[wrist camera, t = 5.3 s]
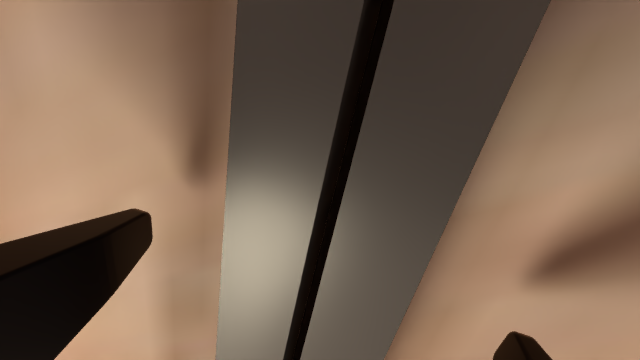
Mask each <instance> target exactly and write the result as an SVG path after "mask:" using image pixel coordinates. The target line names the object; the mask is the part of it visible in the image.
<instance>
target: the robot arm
mask: <svg viewBox="0 0 640 360" xmlns="http://www.w3.org/2000/svg"><path fill="white" fill-rule="evenodd" d="M152 237H153V236H152V223H151V216H150V214H149V213H148V212H145V211H142V210H139V209H129V210H125V211H121V212H118V213H114V214H110V215H106V216H103V217H99V218H95V219H92V220H88V221H84V222H80V223H77V224H73V225H69V226H65V227H62V228H58V229H54V230H50V231H47V232H43V233H39V234H35V235H32V236H28V237H24V238H20V239H17V240H13V241H9V242H5V243H2V244H0V360H54V359H55V358H56V357H57V356H58V355H59V354H60V352H61V351H62V350H63V349H64V348H65V347H66V346H67V345H68V344H69V343H70V341H71V340H72V339H73V338H74V337H75V336H76V335H77V334H78V333H79V332H80V331H81V329H82V328H83V327H84V326H85V325H86V324H87V323H88V322H89V321H90V320H91V319H92V317H93V316H94V315H95V314H96V313H97V312H98V311H99V310H100V309H101V308H102V307H103V305H104V304H105V303H106V302H107V301H108V300H109V299H110V297H111V296H112V295H113V294H114V293H115V291H116V290H117V289H118V288H119V286H120V285H121V284H122V282H123V281H124V280H125V278H126V277H127V276H128V274H129V273H130V272H131V270H132V269H133V268H134V266H135V265H136V264H137V263H138V261H139V260H140V259H141V257H142V256H143V255H144V253H145V252H146V251H147V249H148V248H149V246H150V245H151V242H152ZM493 360H552V359H551V358H550V356H549V355H548V354H547V353H546V352H545V351H544V350H543V348H542V347H541V346H540V345H539V344H538V343H537V342H536V341H535V339H533V338H532V337H530V336H528V335H525V334H522V333H518V332H515V331H512V332H510V333H509V334H508V335H507V336H506V338H505V339H504V340H503V342H502V343H501V345H500V346H499V347H498V349H497V350H496V352H495V354H494V356H493Z"/></svg>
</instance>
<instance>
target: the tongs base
mask: <svg viewBox="0 0 640 360" xmlns="http://www.w3.org/2000/svg"><path fill="white" fill-rule="evenodd" d="M550 1H551V0H394V4H393V7H392V11H391V15H390V19H389V23H388V26H387V30H386V34H385V38H384V42H383V46H382V49H381V53H380V57H379V61H378V65H377V68H376V72H375V76H374V80H373V84H372V88H371V91H370V95H369V99H368V103H367V107H366V110H365V114H364V118H363V122H362V126H361V129H360V133H359V137H358V141H357V145H356V149H355V152H354V156H353V160H352V164H351V168H350V171H349V175H348V179H347V183H346V187H345V191H344V194H343V198H342V202H341V206H340V210H339V213H338V217H337V221H336V225H335V229H334V232H333V236H332V240H331V244H330V248H329V252H328V255H327V259H326V263H325V267H324V271H323V274H322V278H321V282H320V286H319V290H318V294H317V297H316V301H315V305H314V309H313V313H312V316H311V320H310V324H309V328H308V332H307V335H306V339H305V343H304V347H303V351H302V355H301V358H300V360H384V358H385V356H386V354H387V352H388V350H389V347H390V345H391V343H392V341H393V339H394V337H395V334H396V332H397V330H398V328H399V326H400V324H401V322H402V319H403V317H404V315H405V313H406V311H407V309H408V306H409V304H410V302H411V300H412V298H413V296H414V294H415V291H416V289H417V287H418V285H419V283H420V281H421V279H422V276H423V274H424V272H425V270H426V268H427V266H428V263H429V261H430V259H431V257H432V255H433V253H434V251H435V248H436V246H437V244H438V242H439V240H440V238H441V236H442V233H443V231H444V229H445V227H446V225H447V223H448V220H449V218H450V216H451V214H452V212H453V210H454V208H455V205H456V203H457V201H458V199H459V197H460V195H461V192H462V190H463V188H464V186H465V184H466V182H467V180H468V177H469V175H470V173H471V171H472V169H473V167H474V165H475V162H476V160H477V158H478V156H479V154H480V152H481V149H482V147H483V145H484V143H485V141H486V139H487V137H488V134H489V132H490V130H491V128H492V126H493V124H494V121H495V119H496V117H497V115H498V113H499V111H500V109H501V106H502V104H503V102H504V100H505V98H506V96H507V94H508V91H509V89H510V87H511V85H512V83H513V81H514V78H515V76H516V74H517V72H518V70H519V68H520V66H521V63H522V61H523V59H524V57H525V55H526V53H527V51H528V48H529V46H530V44H531V42H532V40H533V38H534V35H535V33H536V31H537V29H538V27H539V25H540V23H541V20H542V18H543V16H544V14H545V12H546V10H547V7H548V5H549V3H550Z"/></svg>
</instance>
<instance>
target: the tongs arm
mask: <svg viewBox="0 0 640 360" xmlns="http://www.w3.org/2000/svg"><path fill="white" fill-rule="evenodd" d="M381 4H382V0H238V4H237V20H236V36H235V52H234V68H233V85H232V101H231V117H230V133H229V149H228V165H227V182H226V198H225V214H224V230H223V246H222V262H221V278H220V295H219V311H218V327H217V343H216V359H215V360H293V356H294V352H295V348H296V344H297V340H298V336H299V332H300V328H301V324H302V320H303V316H304V312H305V308H306V304H307V300H308V296H309V292H310V288H311V284H312V280H313V276H314V272H315V268H316V264H317V260H318V256H319V252H320V248H321V244H322V240H323V236H324V232H325V228H326V224H327V220H328V216H329V212H330V208H331V204H332V200H333V196H334V192H335V188H336V184H337V180H338V176H339V172H340V168H341V164H342V160H343V156H344V152H345V148H346V144H347V140H348V136H349V132H350V128H351V124H352V120H353V116H354V112H355V108H356V104H357V100H358V96H359V92H360V88H361V84H362V80H363V76H364V72H365V68H366V64H367V60H368V56H369V52H370V48H371V44H372V40H373V36H374V32H375V28H376V24H377V20H378V16H379V12H380V8H381Z"/></svg>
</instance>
